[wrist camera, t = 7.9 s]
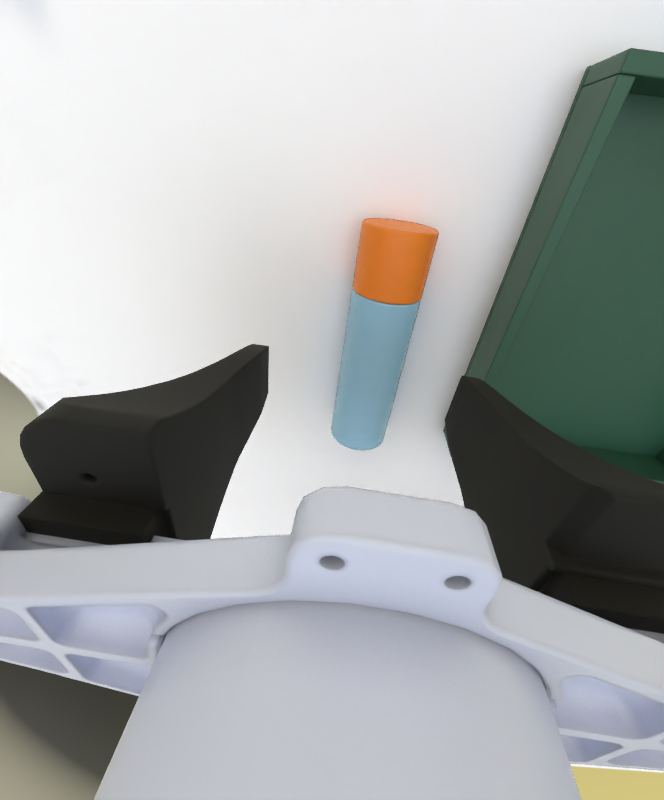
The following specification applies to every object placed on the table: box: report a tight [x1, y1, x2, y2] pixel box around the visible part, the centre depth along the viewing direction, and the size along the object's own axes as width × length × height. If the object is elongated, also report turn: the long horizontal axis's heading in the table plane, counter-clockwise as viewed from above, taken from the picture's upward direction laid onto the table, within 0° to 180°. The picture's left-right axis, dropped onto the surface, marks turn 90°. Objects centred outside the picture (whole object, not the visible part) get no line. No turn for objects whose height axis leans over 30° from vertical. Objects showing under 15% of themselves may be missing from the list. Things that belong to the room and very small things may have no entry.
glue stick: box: [332, 218, 438, 450], centre depth 15 cm, size 10×3×3 cm, turn 173°
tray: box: [444, 48, 664, 484], centre depth 14 cm, size 15×12×2 cm
